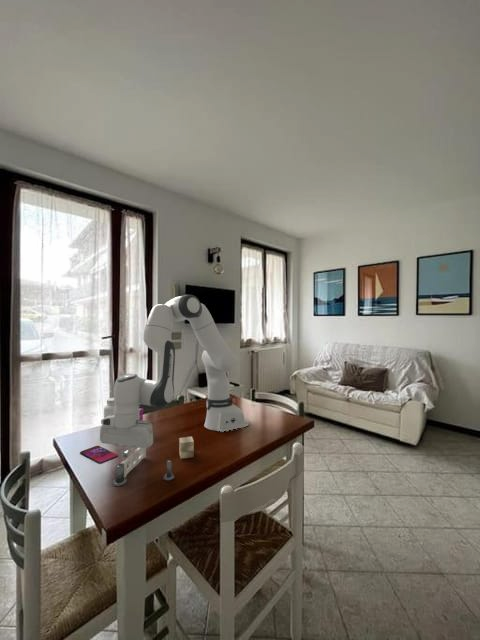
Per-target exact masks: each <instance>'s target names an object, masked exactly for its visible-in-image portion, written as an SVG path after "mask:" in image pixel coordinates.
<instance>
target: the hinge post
mask: <svg viewBox="0 0 480 640" xmlns="http://www.w3.org/2000/svg"><path fill="white" fill-rule="evenodd" d="M127 482H128V479H127V478H126V477H125V478H124V464H121V463H118V464H117V465H115V479H113V480H112V482H111V485H112V486H113V487H122V486H124V485H126V484H127Z"/></svg>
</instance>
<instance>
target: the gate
mask: <svg viewBox="0 0 480 640" xmlns="http://www.w3.org/2000/svg"><path fill="white" fill-rule="evenodd" d="M146 457H147V448H139V447H137V448H136V449H135V450H134V451H132V452H131V455H130V456H129V457H128V458H126V457H125V459H124V460H122V461H121V462H120V464H124V478H126V477H127V476H128V474H129V473H130V472H131V471H132V470H133V469H134V468H135V467H136V466H137V465H138V464H139V463H140V462H141V461H142V460H143V459H145V458H146Z"/></svg>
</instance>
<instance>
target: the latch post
mask: <svg viewBox="0 0 480 640" xmlns="http://www.w3.org/2000/svg"><path fill="white" fill-rule="evenodd" d="M172 463H173V462H172V460H171V459H168V460H166V473H165V474H164V475H163V477H162V478H163V481H166V482H171V481H173V480H174V479H175V474H174V473H172Z"/></svg>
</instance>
